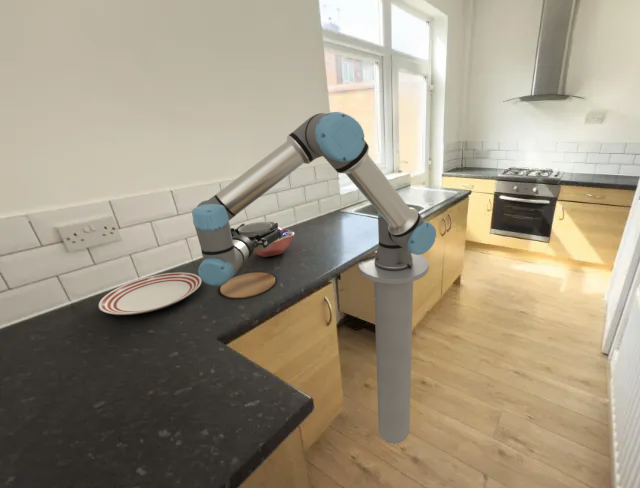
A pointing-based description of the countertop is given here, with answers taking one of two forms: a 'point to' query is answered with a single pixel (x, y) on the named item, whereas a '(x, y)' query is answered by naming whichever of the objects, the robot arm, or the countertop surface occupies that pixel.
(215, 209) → the robot arm
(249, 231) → the teacup
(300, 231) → the countertop surface
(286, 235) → the cell model
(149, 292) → the dinner plate
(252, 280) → the cork mat
